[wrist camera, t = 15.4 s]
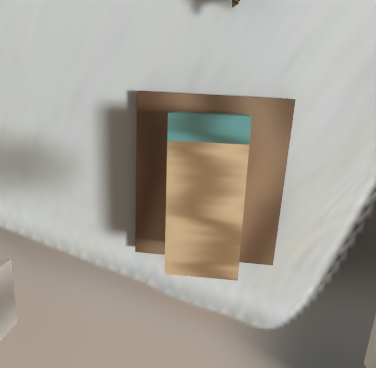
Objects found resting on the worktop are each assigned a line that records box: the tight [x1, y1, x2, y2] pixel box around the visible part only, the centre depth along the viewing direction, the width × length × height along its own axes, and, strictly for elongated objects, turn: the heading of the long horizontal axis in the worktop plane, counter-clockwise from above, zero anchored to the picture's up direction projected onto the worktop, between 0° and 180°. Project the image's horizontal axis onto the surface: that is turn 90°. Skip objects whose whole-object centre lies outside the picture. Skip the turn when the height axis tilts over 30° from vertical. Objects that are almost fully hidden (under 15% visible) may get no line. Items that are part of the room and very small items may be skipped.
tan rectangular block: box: [164, 111, 252, 280], centre depth 27 cm, size 6×6×13 cm
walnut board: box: [135, 91, 295, 265], centre depth 30 cm, size 14×16×1 cm
